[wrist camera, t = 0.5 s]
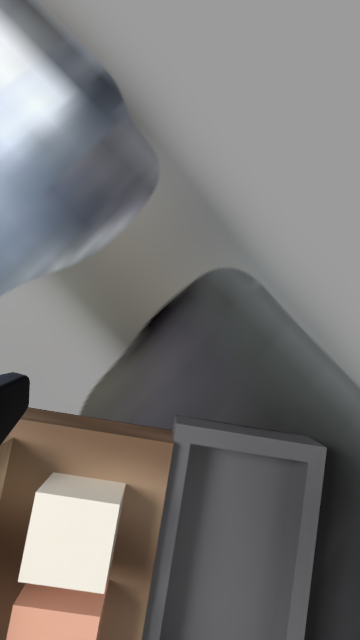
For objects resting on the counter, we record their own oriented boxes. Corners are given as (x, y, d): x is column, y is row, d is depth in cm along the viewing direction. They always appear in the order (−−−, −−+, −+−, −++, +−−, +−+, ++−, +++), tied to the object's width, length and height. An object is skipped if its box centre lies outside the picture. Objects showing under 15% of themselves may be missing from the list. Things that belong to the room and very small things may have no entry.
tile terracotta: (94, 659, 17) (83, 712, 15) (18, 649, 17) (-7, 700, 15) (109, 579, 18) (100, 617, 15) (34, 568, 17) (13, 604, 15)
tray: (275, 699, 20) (290, 748, 18) (130, 680, 20) (126, 727, 17) (308, 436, 22) (326, 447, 19) (174, 414, 21) (176, 423, 19)
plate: (134, 662, 20) (128, 717, 17) (-108, 630, 20) (-156, 680, 17) (172, 430, 21) (173, 443, 18) (-53, 394, 21) (-89, 402, 18)
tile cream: (112, 559, 18) (104, 594, 15) (38, 548, 18) (17, 581, 15) (125, 483, 18) (119, 504, 16) (53, 472, 18) (35, 492, 15)
